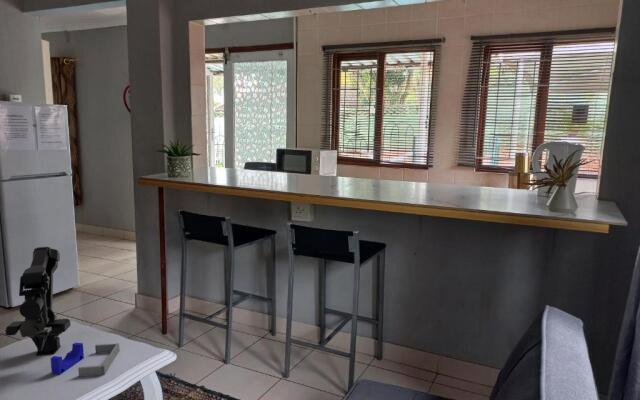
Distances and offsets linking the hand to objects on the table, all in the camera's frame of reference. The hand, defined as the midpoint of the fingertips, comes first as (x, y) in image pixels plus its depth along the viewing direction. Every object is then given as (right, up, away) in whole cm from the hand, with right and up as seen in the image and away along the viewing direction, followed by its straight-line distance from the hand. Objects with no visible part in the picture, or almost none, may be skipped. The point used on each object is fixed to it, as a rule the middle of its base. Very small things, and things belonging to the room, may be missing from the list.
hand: (40, 350), depth 159 cm
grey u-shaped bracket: (+19, -6, +3) cm, 20 cm away
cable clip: (+8, -6, +2) cm, 10 cm away
